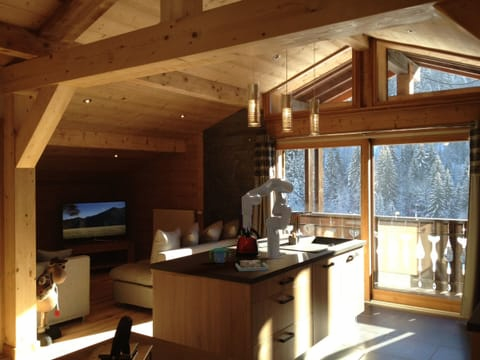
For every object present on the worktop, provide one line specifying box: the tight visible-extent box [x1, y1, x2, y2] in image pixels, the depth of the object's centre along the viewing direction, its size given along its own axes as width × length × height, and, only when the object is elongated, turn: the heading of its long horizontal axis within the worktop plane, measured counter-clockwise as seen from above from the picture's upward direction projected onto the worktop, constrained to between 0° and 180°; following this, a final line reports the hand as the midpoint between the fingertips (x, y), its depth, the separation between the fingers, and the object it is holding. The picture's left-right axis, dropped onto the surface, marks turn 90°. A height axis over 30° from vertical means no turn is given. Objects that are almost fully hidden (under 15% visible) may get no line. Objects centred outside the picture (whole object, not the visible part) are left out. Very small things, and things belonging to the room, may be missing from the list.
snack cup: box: [209, 247, 232, 264], centre depth 340 cm, size 16×10×10 cm
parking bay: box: [235, 262, 270, 272], centre depth 318 cm, size 20×17×2 cm
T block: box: [239, 259, 262, 268], centre depth 320 cm, size 14×14×4 cm
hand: (247, 237), depth 336 cm, fingers closed
